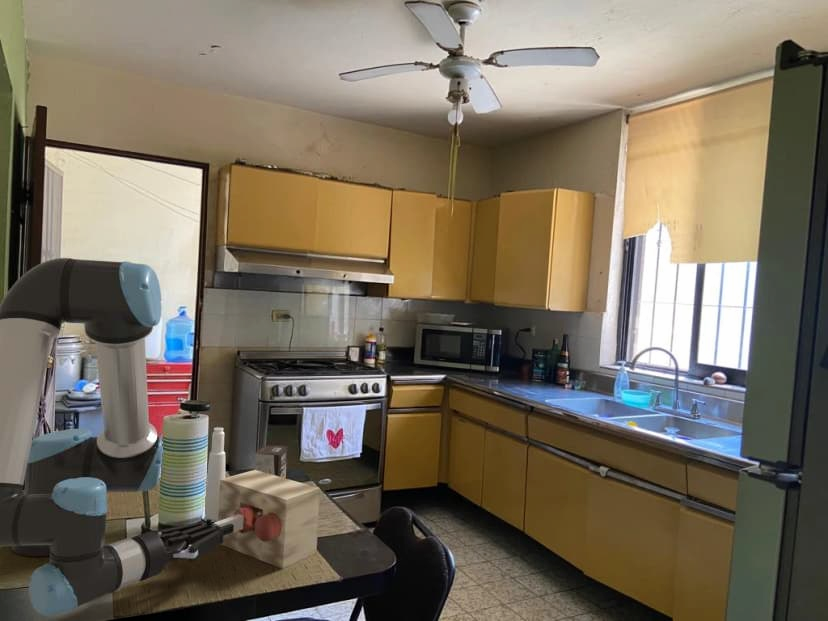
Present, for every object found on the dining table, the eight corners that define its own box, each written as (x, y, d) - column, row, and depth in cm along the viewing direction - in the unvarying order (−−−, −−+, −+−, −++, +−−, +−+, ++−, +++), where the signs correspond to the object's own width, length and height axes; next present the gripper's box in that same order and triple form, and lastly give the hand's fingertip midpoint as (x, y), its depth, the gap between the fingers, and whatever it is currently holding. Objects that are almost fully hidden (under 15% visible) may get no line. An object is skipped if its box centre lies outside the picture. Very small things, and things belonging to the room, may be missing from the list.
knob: (249, 535, 120) (250, 511, 120) (232, 529, 123) (233, 506, 123) (292, 518, 131) (293, 496, 130) (276, 513, 133) (277, 491, 133)
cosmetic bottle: (231, 518, 143) (236, 429, 143) (208, 524, 138) (213, 432, 138) (219, 512, 147) (223, 424, 147) (196, 517, 142) (200, 427, 142)
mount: (207, 546, 127) (210, 482, 126) (251, 529, 137) (254, 469, 137) (273, 573, 116) (277, 502, 116) (316, 552, 127) (319, 488, 126)
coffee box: (276, 520, 144) (279, 454, 143) (250, 518, 144) (253, 453, 144) (285, 507, 153) (288, 445, 153) (260, 505, 153) (263, 444, 153)
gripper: (111, 570, 104) (219, 531, 124) (155, 593, 98) (262, 547, 117) (113, 528, 104) (220, 496, 124) (158, 548, 97) (264, 510, 117)
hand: (240, 521), depth 121 cm, fingers closed
